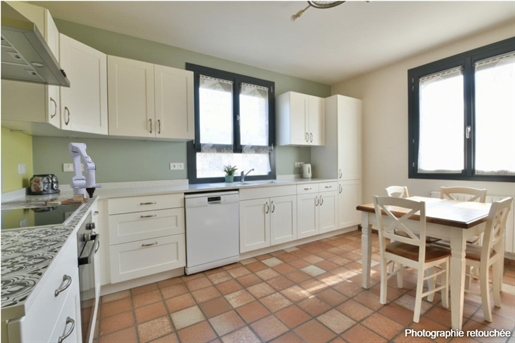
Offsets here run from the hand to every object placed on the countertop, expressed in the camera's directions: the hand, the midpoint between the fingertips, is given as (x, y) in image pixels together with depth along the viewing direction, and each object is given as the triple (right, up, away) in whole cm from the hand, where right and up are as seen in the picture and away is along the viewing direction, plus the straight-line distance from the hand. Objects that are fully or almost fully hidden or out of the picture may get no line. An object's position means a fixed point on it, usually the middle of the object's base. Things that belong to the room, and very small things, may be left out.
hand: (91, 197), depth 170 cm
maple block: (-7, -1, -3) cm, 7 cm away
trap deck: (-13, -3, -5) cm, 14 cm away
